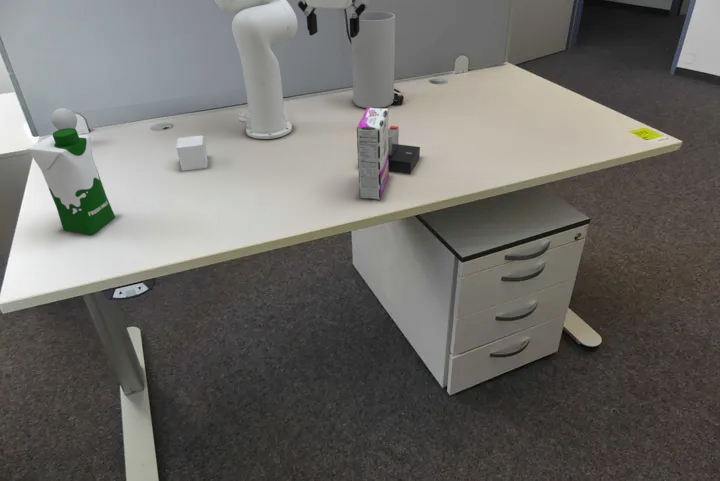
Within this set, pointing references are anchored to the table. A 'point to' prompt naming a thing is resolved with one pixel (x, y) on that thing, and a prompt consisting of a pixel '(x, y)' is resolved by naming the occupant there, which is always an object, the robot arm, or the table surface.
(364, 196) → the candy bar box
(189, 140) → the white cube
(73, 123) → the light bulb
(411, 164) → the panel
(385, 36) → the cylinder vase
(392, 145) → the tap handle
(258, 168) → the table surface
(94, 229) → the milk carton
